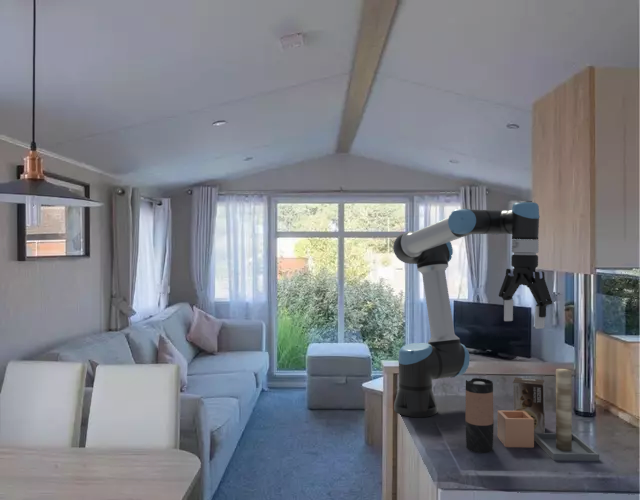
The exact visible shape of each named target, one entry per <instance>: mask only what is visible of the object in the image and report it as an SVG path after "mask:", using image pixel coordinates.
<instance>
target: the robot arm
mask: <svg viewBox="0 0 640 500" xmlns="http://www.w3.org/2000/svg"><path fill="white" fill-rule="evenodd" d="M511 207H512V208H511V209H510V210H509V209H508V210H507V209H499V210H498V209H497V210H496V209H474V208H473V209H471V208H470V209H469V208H461V209H460V208H459V209H455V210H452V211H451V213H450V214H449V216H448V217H446V218H444V219H442V220H440V221H436V222H435V223H432V224H430V225H427V226H425V227H423V228H420V229H418V230H416V231H415V230H414V231H413V230H408V231H406V232H403V233H401V234H399V235H397V237H396V238H395V240H394V241H393V252H394V254H395V255H394V256H396V259H398V260H399V261H401V262H402V263H405V264H408V265H416V267H417V271H418V273H421V274H422V282H423V290H424V297H425V301H426V302H425V304H426V309H427V316H428V317H427V318H428V323H429V331H430V338H429V340H428V341H427V342H413V343H407V344H405V345H403V346H401V347H400V349H399V351H398V358H397V360H398V362H397V363H398V390H397V392H396V397H395V399H394V402H393V403H394V404H393V411H394V412H395V413H396V414H398V415H401V416H404V417H410V418H411V417H412V418H427V417H432V416H435V415H436V414H437V413H438V404H437V402H436V398H435V394H434V392H433V381H434V380H441V379H446V378H447V379H448V378H449V379H450V378H451V379H452V378H455V377H460V376H463V375H464V374H465V373H466V372H467V370H468V369H469V366H470V363H471V362H470V361H471V360H470V353H469V350H468V348H467V347H466V346H465V344H462V343H461V339H460V337H458V336H457V335H456V334H455V327H454V321H453V315H452V308H451V307H452V306H451V301H450V295H449V289H448V281H447V274H446V270H447V269H448V267H449V262H451V260H452V258H453V257H452V256H453V253H454V252H453V251H454V250H453V245H452V242H453V241H456V240H458V239H461V238H465V237H467V236H469V235H511V253H513V254H512V255H511V258H510V259H511V261H510V263H511V264H510V265H511V267H513V268H505V269H506V270H505V276H504V278H503V282H502V283H501V284H502V285H501V287H500V290H499V293H498V297H499V298H502V300H503V321H504V322H512V321H514V315H513V314H514V300H513V296H514V295H515V294H516V292H517V290H518V289H519V287H520V286H522V285H523V286H526V287H527V288H528V289H529V291H530V293H531V294H532V296H533V299H534V301H535V302H536V304H535V307H534V308H535V313H534V314H535V315H534V316H535V317H534V318H535V319H534V322H535V323H534V328H535V329H537V330H538V329H545V322H546V321H545V319H546V316H547V307H548V306H549V305H552V304H553V300H552V297H551V294H550V291H549V289H548V285H547V282H546V279H545V272H544V271H543V270H541V271H536V268H538V266H539V256H538V255H537V254H538V253H539V228H540V227H539V226H540V208H539V207H540V206H539V204H538V203H536V202H531V201H530V202H528V201H527V202H523V201H522V202H513V204H512V206H511Z"/></svg>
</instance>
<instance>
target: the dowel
mask: <svg viewBox="0 0 640 500" xmlns="http://www.w3.org/2000/svg"><path fill="white" fill-rule="evenodd" d="M572 385H573V384H572V370H570V369H567V368H556V369H555V433H556V448H557V449H559V450H563V451H570V450H572V433H573V432H572V423H573V422H572V413H573V412H572V406H573V405H572V401H573V400H572V395H573V394H572V390H573V389H572Z"/></svg>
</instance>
